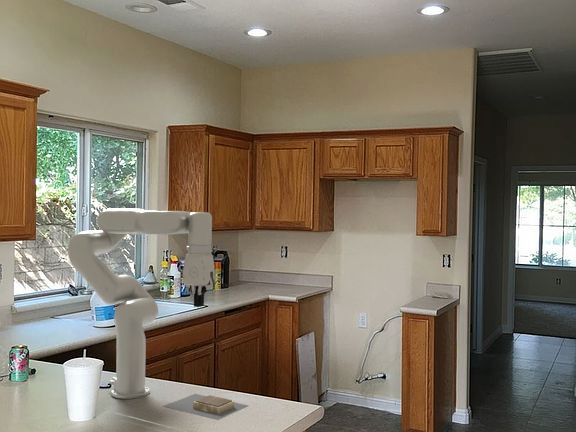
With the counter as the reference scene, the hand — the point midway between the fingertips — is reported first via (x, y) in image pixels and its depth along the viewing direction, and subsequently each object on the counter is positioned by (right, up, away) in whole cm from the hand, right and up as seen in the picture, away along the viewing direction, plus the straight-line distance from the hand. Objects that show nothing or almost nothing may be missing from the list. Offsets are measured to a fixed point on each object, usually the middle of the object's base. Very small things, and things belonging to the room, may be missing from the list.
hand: (198, 306), depth 205 cm
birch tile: (+1, -30, -4) cm, 30 cm away
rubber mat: (+3, -31, -5) cm, 32 cm away
